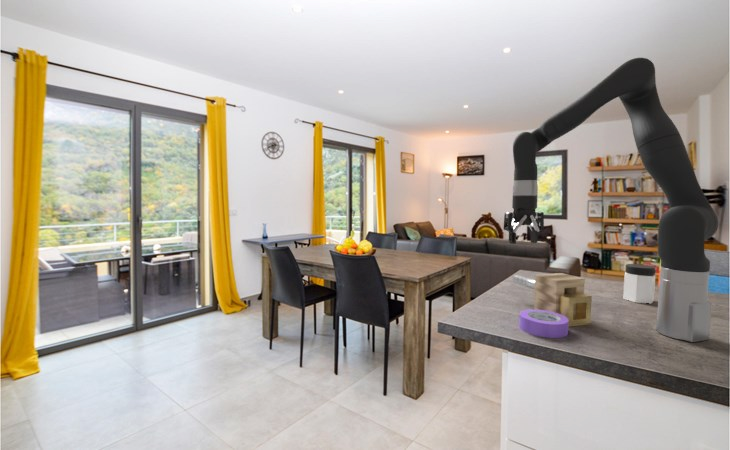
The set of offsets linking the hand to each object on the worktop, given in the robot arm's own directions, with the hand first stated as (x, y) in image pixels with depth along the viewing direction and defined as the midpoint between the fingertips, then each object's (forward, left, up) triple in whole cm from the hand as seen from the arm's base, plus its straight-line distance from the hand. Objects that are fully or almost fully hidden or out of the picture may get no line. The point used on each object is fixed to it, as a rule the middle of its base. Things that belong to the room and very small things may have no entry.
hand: (523, 243), depth 118 cm
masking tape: (-22, +12, -21) cm, 33 cm away
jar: (-9, -41, -20) cm, 47 cm away
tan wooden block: (-15, 0, -20) cm, 25 cm away
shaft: (-7, 0, -14) cm, 16 cm away
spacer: (-21, 0, -20) cm, 29 cm away
